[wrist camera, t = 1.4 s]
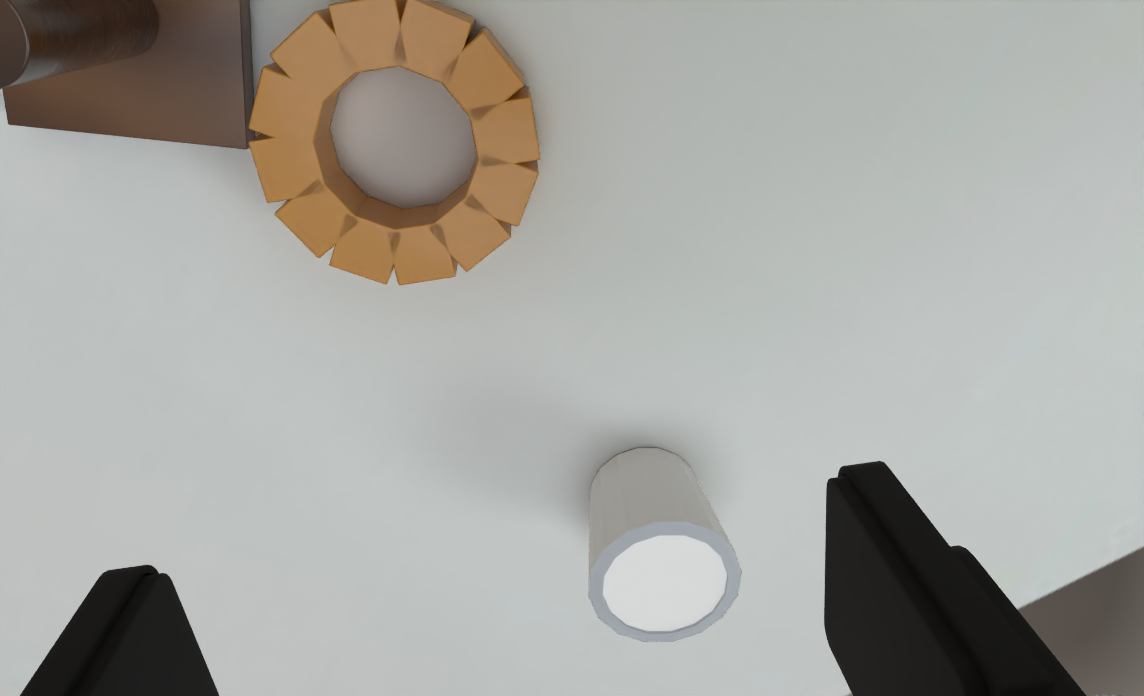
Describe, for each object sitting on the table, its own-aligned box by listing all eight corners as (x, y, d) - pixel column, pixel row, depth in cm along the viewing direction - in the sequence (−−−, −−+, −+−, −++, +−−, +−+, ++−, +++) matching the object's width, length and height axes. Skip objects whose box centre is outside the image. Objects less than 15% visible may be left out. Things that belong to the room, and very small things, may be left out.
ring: (412, -69, 31) (402, -71, 28) (587, 155, 35) (593, 171, 32) (215, 115, 33) (189, 129, 31) (400, 305, 37) (391, 332, 35)
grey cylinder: (632, 413, 40) (653, 496, 34) (736, 478, 42) (774, 568, 36) (550, 508, 43) (556, 603, 36) (653, 566, 45) (676, 666, 38)
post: (-16, -138, 29) (-262, -185, 20) (245, -103, 30) (126, -133, 21) (24, 119, 33) (-168, 179, 24) (255, 143, 34) (157, 210, 25)
